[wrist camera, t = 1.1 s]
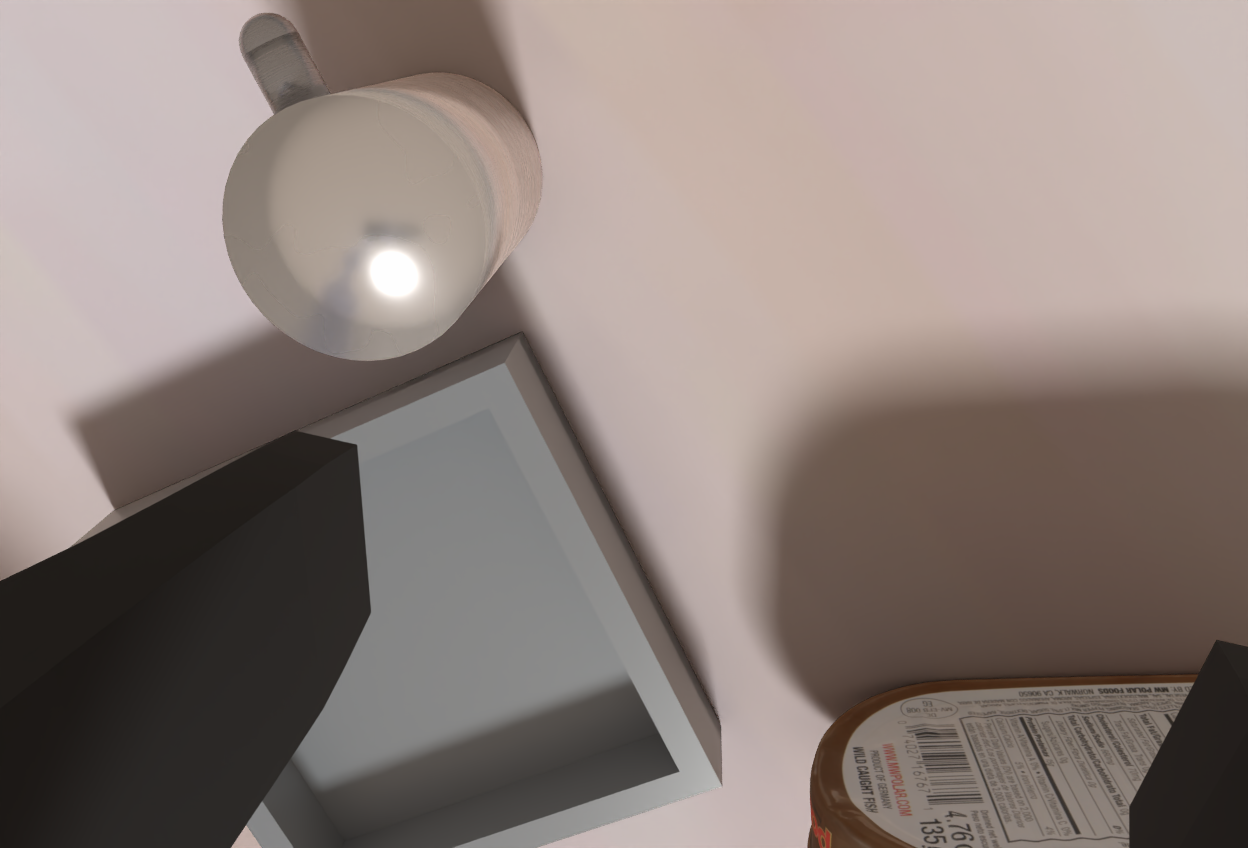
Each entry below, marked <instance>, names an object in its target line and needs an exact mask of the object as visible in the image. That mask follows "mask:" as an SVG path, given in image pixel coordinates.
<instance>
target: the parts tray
mask: <svg viewBox="0 0 1248 848" xmlns="http://www.w3.org/2000/svg"><path fill="white" fill-rule="evenodd" d="M297 431H299V432H304V433H308V434H312V435H317V436H321V437H326V438H330V439H334V440H339V441H343V442H348V443H352V444H356V445H357V448H358V460H359V472H360V484H361V496H362V508H363V520H364V532H365V544H366V556H367V568H368V580H369V592H370V604H371V614H370V616H369V618H368V620H367V623H366V625H365V627H364V629H363V631H362V633H361V635H360V637H359V639H358V641H357V643H356V645H355V647H354V650H353V652H352V654H351V656H350V658H349V660H348V662H347V664H346V666H345V668H344V670H343V672H342V674H341V676H340V678H339V680H338V682H337V684H336V685H335V687H334V689H333V691H332V693H331V695H330V697H329V699H328V701H327V703H326V705H325V707H324V709H323V710H322V712H321V713H320V715H319V716H318V718H317V719H316V721H315V722H314V724H313V726H312V727H311V729H310V730H309V732H308V733H307V735H306V736H305V738H304V739H303V741H302V742H301V744H300V745H299V747H298V748H297V750H296V751H295V753H294V754H293V756H292V757H291V759H290V760H289V762H288V763H287V765H286V766H285V768H284V769H283V771H282V772H281V774H280V775H279V777H278V778H277V780H276V781H275V783H274V784H273V786H272V787H271V789H270V790H269V792H268V793H267V795H266V796H265V798H264V799H263V801H262V802H261V804H260V805H259V807H258V808H257V810H256V811H255V813H254V814H253V815H252V817H251V818H250V820H249V821H248V823H247V824H246V825H247V827H248V828H249V830H250V831H251V832H252V834H253V835H254V837H255V838H256V840H257V841H258V843H259V844H260V846H261V847H262V848H537V847H540V846H543V845H546V844H549V843H552V842H555V841H558V840H561V839H564V838H568V837H571V836H574V835H577V834H580V833H583V832H586V831H589V830H592V829H595V828H598V827H601V826H604V825H607V824H610V823H613V822H616V821H619V820H622V819H625V818H628V817H631V816H634V815H637V814H640V813H643V812H647V811H650V810H653V809H656V808H659V807H662V806H665V805H668V804H671V803H674V802H677V801H680V800H683V799H686V798H689V797H692V796H695V795H698V794H701V793H704V792H707V791H710V790H713V789H716V788H719V787H722V750H721V725H720V723H719V721H718V719H717V717H716V715H715V713H714V711H713V709H712V707H711V705H710V703H709V701H708V699H707V697H706V695H705V693H704V691H703V689H702V687H701V685H700V683H699V681H698V679H697V677H696V675H695V673H694V671H693V669H692V667H691V665H690V663H689V661H688V659H687V657H686V655H685V653H684V651H683V649H682V647H681V645H680V643H679V641H678V639H677V637H676V635H675V633H674V631H673V629H672V627H671V625H670V623H669V622H668V620H667V618H666V616H665V614H664V612H663V610H662V608H661V606H660V604H659V602H658V600H657V598H656V596H655V594H654V592H653V590H652V588H651V586H650V584H649V582H648V580H647V578H646V576H645V574H644V572H643V570H642V568H641V566H640V564H639V562H638V560H637V558H636V556H635V554H634V552H633V550H632V548H631V546H630V544H629V542H628V540H627V538H626V536H625V534H624V532H623V530H622V528H621V526H620V524H619V522H618V520H617V518H616V516H615V514H614V512H613V510H612V508H611V506H610V504H609V502H608V500H607V498H606V496H605V494H604V492H603V490H602V488H601V486H600V484H599V482H598V480H597V478H596V476H595V474H594V473H593V471H592V469H591V467H590V465H589V463H588V461H587V459H586V457H585V455H584V453H583V451H582V449H581V447H580V445H579V443H578V441H577V439H576V437H575V435H574V433H573V431H572V429H571V427H570V425H569V423H568V421H567V419H566V417H565V415H564V413H563V411H562V409H561V407H560V405H559V403H558V401H557V399H556V397H555V395H554V393H553V391H552V389H551V387H550V385H549V383H548V381H547V379H546V377H545V375H544V373H543V371H542V369H541V367H540V365H539V363H538V361H537V359H536V357H535V355H534V353H533V351H532V349H531V347H530V345H529V343H528V341H527V339H526V337H525V335H524V333H523V332H520V333H518V334H516V335H513V336H511V337H509V338H507V339H504V340H502V341H500V342H497V343H495V344H493V345H491V346H488V347H486V348H484V349H481V350H479V351H477V352H475V353H472V354H470V355H468V356H465V357H463V358H461V359H459V360H456V361H454V362H452V363H449V364H447V365H445V366H443V367H440V368H438V369H436V370H434V371H431V372H429V373H427V374H424V375H422V376H420V377H418V378H415V379H413V380H411V381H408V382H406V383H404V384H402V385H399V386H397V387H395V388H392V389H390V390H388V391H386V392H383V393H381V394H379V395H376V396H374V397H372V398H370V399H367V400H365V401H363V402H360V403H358V404H356V405H354V406H351V407H349V408H347V409H345V410H342V411H340V412H338V413H335V414H333V415H331V416H329V417H326V418H324V419H322V420H319V421H317V422H315V423H313V424H310V425H308V426H306V427H303V428H301V429H299V430H297ZM271 442H272V441H271ZM269 443H270V442H269ZM267 444H268V443H267ZM265 445H266V444H265ZM262 446H264V445H262ZM262 446H260V447H262ZM260 447H258V448H260ZM258 448H255V449H253V450H251V451H249V452H246V453H244V454H242V455H240V456H237V457H235V458H233V459H230V460H228V461H226V462H224V463H221V464H219V465H217V466H214V467H212V468H210V469H208V470H205V471H203V472H201V473H198V474H196V475H194V476H192V477H189V478H187V479H185V480H182V481H180V482H178V483H176V484H173V485H171V486H169V487H166V488H164V489H162V490H160V491H157V492H155V493H153V494H150V495H148V496H146V497H144V498H141V499H139V500H137V501H135V502H132V503H130V504H128V505H125V506H123V507H121V508H119V509H116V510H114V511H113V512H111V513H110V514H109V515H108V516H107V517H106V518H104V519H103V520H102V521H101V522H100V523H98V524H97V525H96V526H95V527H94V528H92V529H91V530H90V531H89V532H88V533H87V534H85V535H84V536H83V537H82V538H81V539H79V540H78V541H77V542H76V543H75V544H74V545H76V544H78V543H80V542H82V541H84V540H86V539H88V538H90V537H92V536H94V535H95V534H97V533H99V532H101V531H103V530H105V529H107V528H109V527H111V526H113V525H114V524H116V523H118V522H120V521H122V520H124V519H126V518H128V517H130V516H132V515H134V514H135V513H137V512H139V511H141V510H143V509H145V508H147V507H149V506H151V505H153V504H155V503H156V502H158V501H160V500H162V499H164V498H166V497H168V496H170V495H172V494H173V493H175V492H177V491H179V490H181V489H183V488H185V487H186V486H188V485H190V484H192V483H194V482H196V481H198V480H200V479H201V478H203V477H205V476H207V475H209V474H211V473H213V472H214V471H216V470H218V469H220V468H222V467H224V466H226V465H228V464H229V463H231V462H233V461H235V460H237V459H239V458H241V457H243V456H245V455H247V454H249V453H250V452H252V451H254V450H256V449H258ZM74 545H72V546H74ZM72 546H71V547H72Z"/></svg>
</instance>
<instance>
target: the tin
mask: <svg viewBox="0 0 1248 848" xmlns="http://www.w3.org/2000/svg"><path fill="white" fill-rule="evenodd" d="M1197 676H1198V674H1181V675H1138V676H1087V677H1048V678H1010V679H975V680H949V681H937V682H927V683H921V684H915V685H910V686H905V687H901V688H897V689H894V690H891V691H887V692H884V693H881V694H879V695H876V696H873V697H871V698H869V699H867V700H865V701H863V702H861V703H859V704H857V705H856V706H854V707H853V708H851V709H849V710H848V711H847V712H846V713H844V714H843V715H842V716H841V717H839V718H838V719H837V720H836V721H835V722H834V723H833V724H832V725H831V726H830V728H829V729H828V730H827V732H826V733H825V734H824V736H823V738H822V739H821V741H820V743H819V746H818V749H817V751H816V754H815V758H814V762H813V765H812V770H811V778H810V805H811V821H812V825H811V828H810V832H809V838H808V848H1129V806H1130V804H1131V802H1132V801H1133V799H1134V797H1135V795H1136V793H1137V791H1138V789H1139V787H1140V785H1141V783H1142V781H1143V780H1144V778H1145V776H1146V774H1147V772H1148V770H1149V768H1150V766H1151V764H1152V762H1153V760H1154V758H1155V757H1156V755H1157V753H1158V751H1159V749H1160V747H1161V745H1162V743H1163V741H1164V739H1165V737H1166V736H1167V734H1168V732H1169V730H1170V728H1171V726H1172V724H1173V722H1174V720H1175V718H1176V716H1177V715H1178V713H1179V711H1180V709H1181V707H1182V705H1183V703H1184V701H1185V699H1186V697H1187V695H1188V694H1189V692H1190V690H1191V688H1192V686H1193V684H1194V682H1195V680H1196V678H1197Z"/></svg>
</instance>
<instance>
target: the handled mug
mask: <svg viewBox="0 0 1248 848" xmlns="http://www.w3.org/2000/svg"><path fill="white" fill-rule="evenodd" d="M239 46H240V51H241V53H242V56H243V58H244V60H245V62H246V63H247V65H248V67H249V69H250V71H251V73H252V74H253V76H254V78H255V80H256V82H257V84H258V86H259V87H260V89H261V91H262V93H263V95H264V97H265V98H266V100H267V102H268V104H269V106H270V108H271V110H272V111H273V113H274V115H273V116H271V117H270V118H269V119H268V120H267V121H265V122H264V123H263V124H262V125H261V126H259V127H258V128H257V129H256V131H255V132H254V133H253V134H252V135H251V136H250V137H249V138H248V139H247V141H246V142H245V144H244V145H243V147H242V148H241V150H240V151H239V153H238V155H237V157H236V159H235V161H234V163H233V165H232V168H231V170H230V173H229V176H228V180H227V183H226V186H225V193H224V199H223V218H222V220H223V230H224V238H225V243H226V247H227V251H228V255H229V258H230V261H231V264H232V266H233V269H234V271H235V273H236V275H237V277H238V279H239V281H240V283H241V285H242V287H243V289H244V290H245V292H246V293H247V295H248V296H249V298H250V299H251V301H252V302H253V303H254V304H255V306H256V307H257V308H258V309H259V310H260V312H261V313H262V314H263V315H264V316H265V317H266V318H267V319H268V320H269V321H270V322H271V323H272V324H273V325H274V326H276V327H277V328H278V329H279V330H281V331H282V332H283V333H285V334H286V335H287V336H289V337H290V338H292V339H294V340H295V341H297V342H299V343H301V344H302V345H304V346H306V347H308V348H311V349H313V350H315V351H318V352H320V353H323V354H326V355H330V356H333V357H337V358H342V359H348V360H357V361H376V360H386V359H391V358H395V357H400V356H403V355H406V354H409V353H411V352H414V351H417V350H419V349H420V348H422V347H424V346H426V345H428V344H430V343H431V342H433V341H434V340H436V339H437V338H438V337H440V336H441V335H442V334H444V333H445V332H446V331H447V330H448V329H449V328H450V327H451V326H452V325H453V324H454V323H455V322H456V321H457V319H458V318H459V317H460V316H461V314H462V313H463V312H464V311H465V309H466V308H467V307H468V306H469V305H470V303H471V302H472V301H473V300H474V298H475V297H476V296H477V295H478V293H479V292H480V291H481V290H482V288H483V287H484V286H485V285H486V283H487V282H488V281H489V280H490V278H491V277H492V276H493V275H494V273H495V272H496V271H497V270H498V268H499V267H500V266H501V265H502V263H503V262H504V261H505V260H506V259H507V257H508V256H509V255H510V254H511V252H512V251H513V250H514V249H515V247H516V246H517V245H518V244H519V242H520V241H521V240H522V238H523V237H524V236H525V235H526V233H527V232H528V230H529V228H530V226H531V225H532V223H533V221H534V218H535V216H536V213H537V211H538V207H539V204H540V200H541V193H542V165H541V158H540V155H539V151H538V147H537V144H536V142H535V139H534V137H533V134H532V132H531V130H530V129H529V127H528V125H527V123H526V121H525V120H524V119H523V117H522V116H521V115H520V113H519V112H518V110H517V109H516V108H515V107H514V106H513V105H512V104H511V103H510V102H509V101H508V100H507V99H506V98H505V97H503V96H502V95H501V94H500V93H498V92H497V91H496V90H494V89H492V88H491V87H489V86H488V85H486V84H484V83H482V82H480V81H477V80H475V79H473V78H469V77H466V76H463V75H459V74H453V73H442V72H433V73H424V74H418V75H414V76H409V77H405V78H400V79H396V80H392V81H387V82H383V83H378V84H374V85H369V86H365V87H360V88H356V89H351V90H347V91H342V92H338V93H334V94H330V92H329V90H328V88H327V86H326V85H325V83H324V81H323V79H322V77H321V75H320V73H319V71H318V69H317V67H316V65H315V64H314V62H313V60H312V58H311V56H310V54H309V52H308V50H307V48H306V46H305V44H304V43H303V41H302V39H301V37H300V35H299V33H298V31H297V30H296V28H295V27H294V26H293V24H292V23H291V22H290V21H288V20H287V19H286V18H284V17H282V16H280V15H278V14H274V13H261V14H257V15H255V16H253V17H251V18H250V19H249V20H248V21H247V22H246V23H245V24H244V26H243V27H242V30H241V32H240V37H239Z"/></svg>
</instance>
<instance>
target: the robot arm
mask: <svg viewBox="0 0 1248 848" xmlns="http://www.w3.org/2000/svg"><path fill="white" fill-rule="evenodd" d="M370 614H371V604H370V592H369V580H368V568H367V556H366V544H365V532H364V520H363V508H362V496H361V484H360V472H359V460H358V448H357V445H356V444H352V443H348V442H343V441H339V440H334V439H330V438H326V437H321V436H317V435H312V434H308V433H304V432H299V431H293V432H291V433H289V434H287V435H285V436H283V437H281V438H278V439H276V440H274V441H272V442H270V443H268V444H266V445H264V446H262V447H260V448H258V449H256V450H254V451H252V452H250V453H249V454H247V455H245V456H243V457H241V458H239V459H237V460H235V461H233V462H231V463H229V464H228V465H226V466H224V467H222V468H220V469H218V470H216V471H214V472H213V473H211V474H209V475H207V476H205V477H203V478H201V479H200V480H198V481H196V482H194V483H192V484H190V485H188V486H186V487H185V488H183V489H181V490H179V491H177V492H175V493H173V494H172V495H170V496H168V497H166V498H164V499H162V500H160V501H158V502H156V503H155V504H153V505H151V506H149V507H147V508H145V509H143V510H141V511H139V512H137V513H135V514H134V515H132V516H130V517H128V518H126V519H124V520H122V521H120V522H118V523H116V524H114V525H113V526H111V527H109V528H107V529H105V530H103V531H101V532H99V533H97V534H95V535H94V536H92V537H90V538H88V539H86V540H84V541H82V542H80V543H78V544H76V545H74V546H72V547H70V548H68V549H66V550H64V551H62V552H60V553H58V554H56V555H54V556H52V557H50V558H48V559H46V560H43V561H41V562H39V563H37V564H35V565H33V566H31V567H29V568H27V569H25V570H23V571H20V572H18V573H16V574H14V575H12V576H10V577H8V578H6V579H4V580H2V581H0V848H231V846H232V845H233V844H234V842H235V841H236V839H237V838H238V836H239V835H240V833H241V832H242V830H243V829H244V827H245V826H246V824H247V823H248V821H249V820H250V818H251V817H252V815H253V814H254V813H255V811H256V810H257V808H258V807H259V805H260V804H261V802H262V801H263V799H264V798H265V796H266V795H267V793H268V792H269V790H270V789H271V787H272V786H273V784H274V783H275V781H276V780H277V778H278V777H279V775H280V774H281V772H282V771H283V769H284V768H285V766H286V765H287V763H288V762H289V760H290V759H291V757H292V756H293V754H294V753H295V751H296V750H297V748H298V747H299V745H300V744H301V742H302V741H303V739H304V738H305V736H306V735H307V733H308V732H309V730H310V729H311V727H312V726H313V724H314V722H315V721H316V719H317V718H318V716H319V715H320V713H321V712H322V710H323V709H324V707H325V705H326V703H327V701H328V699H329V697H330V695H331V693H332V691H333V689H334V687H335V685H336V684H337V682H338V680H339V678H340V676H341V674H342V672H343V670H344V668H345V666H346V664H347V662H348V660H349V658H350V656H351V654H352V652H353V650H354V647H355V645H356V643H357V641H358V639H359V637H360V635H361V633H362V631H363V629H364V627H365V625H366V623H367V620H368V618H369V616H370ZM1129 848H1248V647H1245V646H1241V645H1236V644H1232V643H1228V642H1223V641H1219V640H1216V642H1215V644H1214V646H1213V648H1212V650H1211V651H1210V653H1209V655H1208V657H1207V659H1206V661H1205V663H1204V665H1203V667H1202V669H1201V671H1200V673H1199V674H1198V676H1197V678H1196V680H1195V682H1194V684H1193V686H1192V688H1191V690H1190V692H1189V694H1188V695H1187V697H1186V699H1185V701H1184V703H1183V705H1182V707H1181V709H1180V711H1179V713H1178V715H1177V716H1176V718H1175V720H1174V722H1173V724H1172V726H1171V728H1170V730H1169V732H1168V734H1167V736H1166V737H1165V739H1164V741H1163V743H1162V745H1161V747H1160V749H1159V751H1158V753H1157V755H1156V757H1155V758H1154V760H1153V762H1152V764H1151V766H1150V768H1149V770H1148V772H1147V774H1146V776H1145V778H1144V780H1143V781H1142V783H1141V785H1140V787H1139V789H1138V791H1137V793H1136V795H1135V797H1134V799H1133V801H1132V802H1131V804H1130V806H1129Z"/></svg>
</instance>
